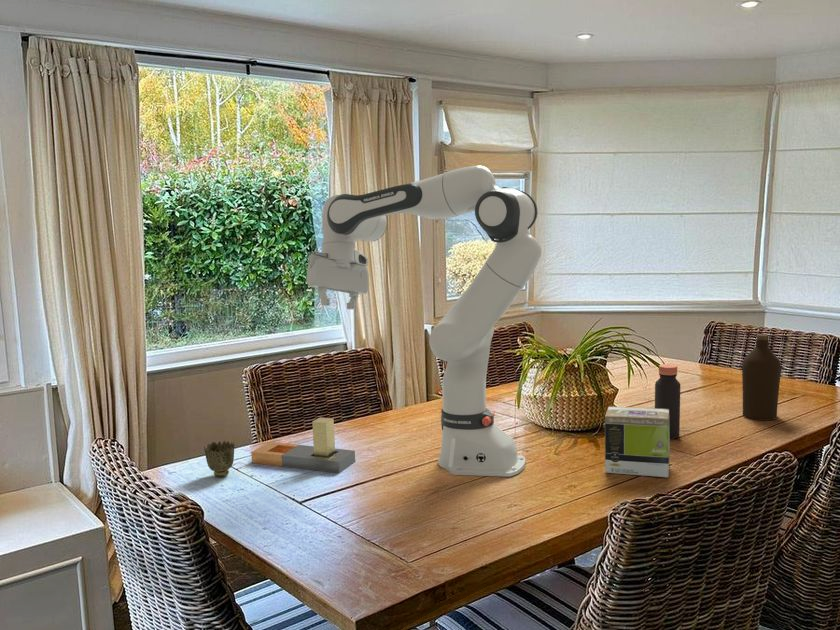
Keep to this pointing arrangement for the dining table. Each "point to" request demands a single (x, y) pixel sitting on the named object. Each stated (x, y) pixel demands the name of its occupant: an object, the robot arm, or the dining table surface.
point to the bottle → (669, 396)
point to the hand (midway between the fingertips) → (338, 307)
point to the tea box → (637, 441)
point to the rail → (302, 457)
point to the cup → (220, 457)
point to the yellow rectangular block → (323, 437)
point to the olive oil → (761, 381)
